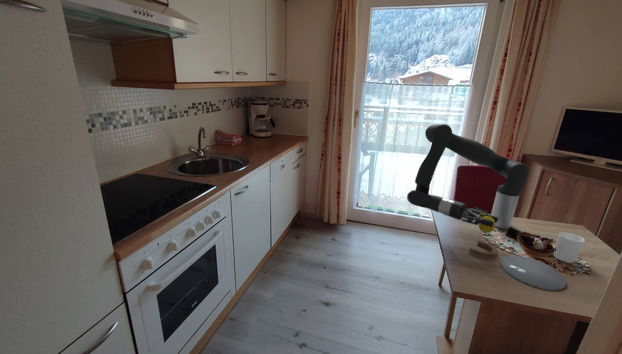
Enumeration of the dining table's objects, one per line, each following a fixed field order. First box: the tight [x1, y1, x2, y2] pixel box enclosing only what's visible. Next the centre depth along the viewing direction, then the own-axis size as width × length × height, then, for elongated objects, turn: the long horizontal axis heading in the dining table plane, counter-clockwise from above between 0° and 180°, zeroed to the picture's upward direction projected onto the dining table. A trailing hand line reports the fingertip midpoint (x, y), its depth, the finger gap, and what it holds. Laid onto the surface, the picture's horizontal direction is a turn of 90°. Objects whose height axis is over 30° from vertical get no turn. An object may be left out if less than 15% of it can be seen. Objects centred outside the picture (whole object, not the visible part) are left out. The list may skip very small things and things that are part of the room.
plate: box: [499, 254, 567, 291], centre depth 106 cm, size 20×20×1 cm
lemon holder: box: [468, 239, 498, 260], centre depth 118 cm, size 11×8×2 cm
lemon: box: [478, 216, 496, 234], centre depth 115 cm, size 6×6×8 cm
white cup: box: [553, 231, 586, 264], centre depth 115 cm, size 8×8×10 cm
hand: (495, 222), depth 113 cm, fingers closed on lemon, 5 cm apart
